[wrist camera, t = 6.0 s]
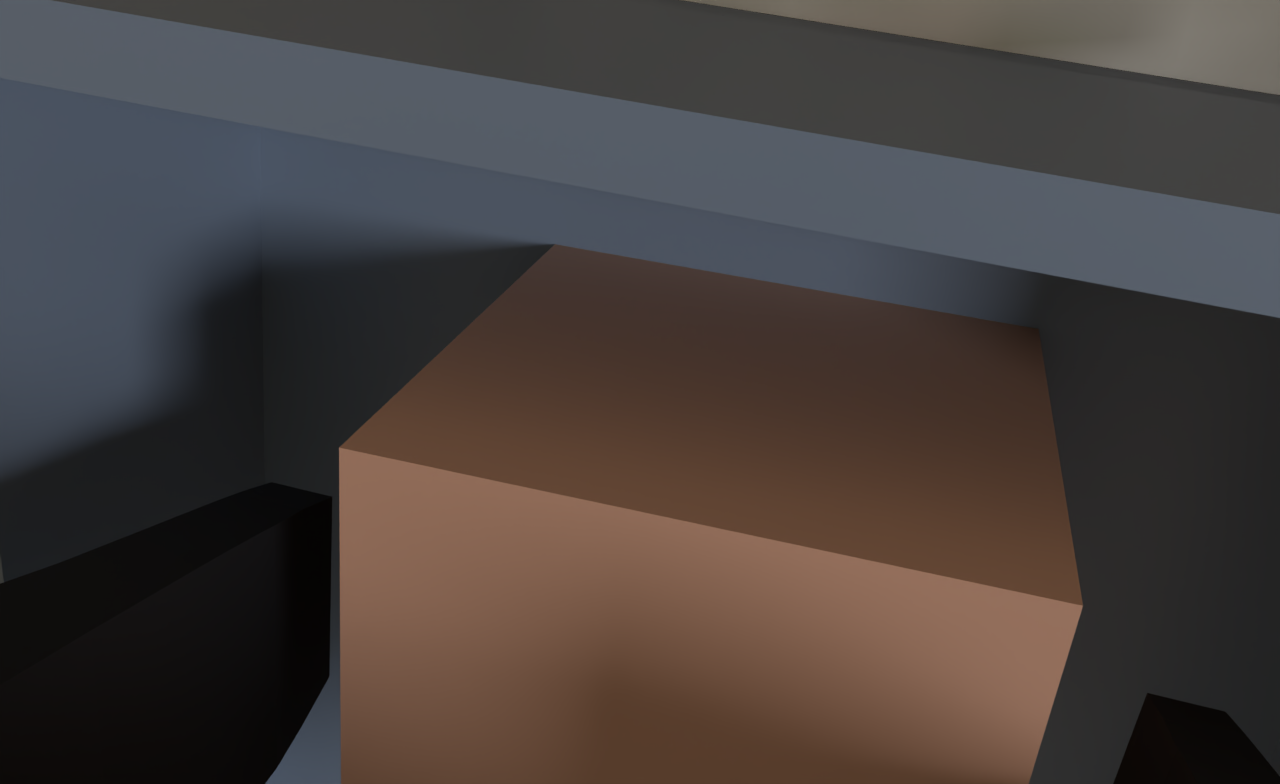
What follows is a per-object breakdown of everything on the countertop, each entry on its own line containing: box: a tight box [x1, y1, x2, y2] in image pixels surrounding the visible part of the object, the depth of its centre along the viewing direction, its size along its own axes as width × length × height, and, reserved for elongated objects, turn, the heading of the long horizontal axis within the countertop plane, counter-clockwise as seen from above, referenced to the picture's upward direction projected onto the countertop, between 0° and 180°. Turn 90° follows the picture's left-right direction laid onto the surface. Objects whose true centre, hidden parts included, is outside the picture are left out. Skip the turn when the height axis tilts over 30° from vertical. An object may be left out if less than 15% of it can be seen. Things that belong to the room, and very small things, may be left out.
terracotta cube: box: [339, 244, 1083, 784], centre depth 11 cm, size 5×5×5 cm
